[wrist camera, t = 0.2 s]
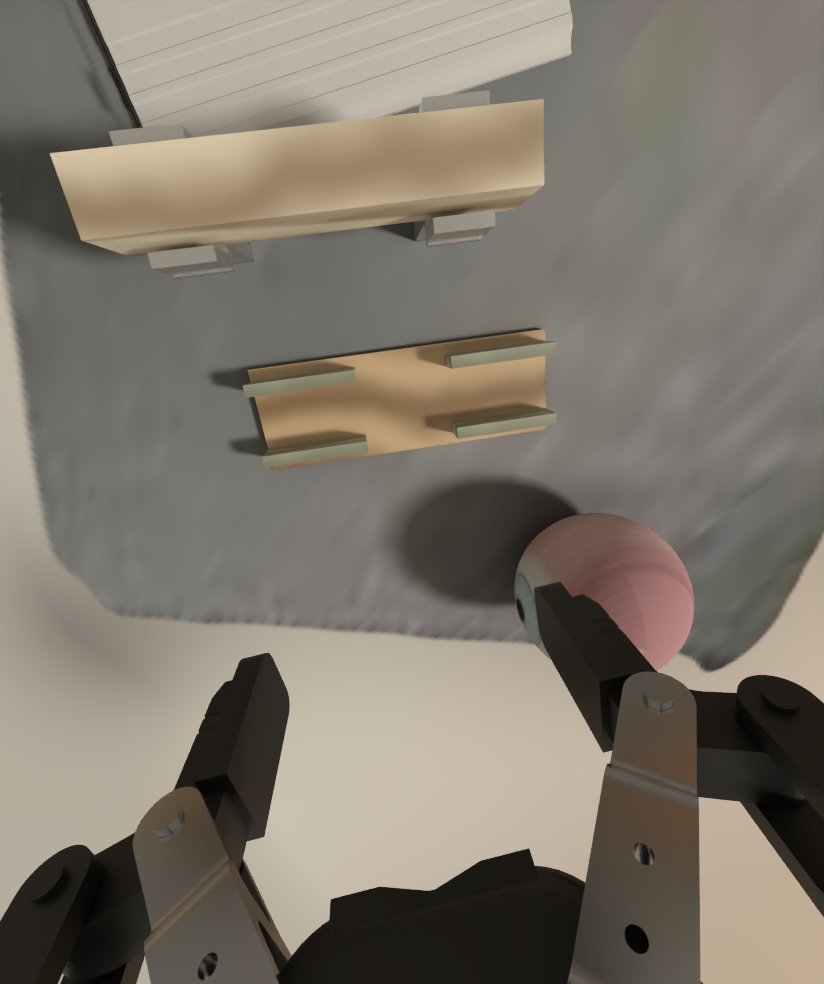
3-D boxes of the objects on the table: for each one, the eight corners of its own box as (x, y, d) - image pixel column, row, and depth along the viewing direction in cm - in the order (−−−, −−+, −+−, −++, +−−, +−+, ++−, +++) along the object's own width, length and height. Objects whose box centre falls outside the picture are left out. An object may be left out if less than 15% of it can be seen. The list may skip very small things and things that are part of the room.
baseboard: (568, 85, 32) (541, -144, 27) (587, 62, 29) (561, -196, 24) (184, 212, 32) (95, 7, 27) (168, 201, 29) (66, -28, 25)
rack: (249, 369, 36) (239, 372, 33) (542, 329, 37) (557, 328, 34) (274, 468, 39) (267, 478, 36) (543, 427, 40) (556, 435, 37)
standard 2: (404, 171, 32) (421, 95, 22) (450, 166, 32) (489, 87, 22) (414, 265, 34) (434, 236, 24) (457, 259, 34) (495, 228, 24)
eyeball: (484, 511, 43) (541, 597, 29) (624, 474, 43) (747, 541, 29) (506, 624, 48) (563, 742, 34) (630, 591, 49) (736, 695, 35)
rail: (106, 185, 24) (49, 153, 20) (513, 139, 25) (543, 99, 21) (130, 256, 25) (81, 240, 21) (515, 209, 26) (544, 184, 22)
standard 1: (192, 196, 31) (107, 128, 21) (241, 190, 31) (180, 120, 21) (218, 290, 33) (152, 271, 23) (263, 284, 34) (217, 263, 23)
